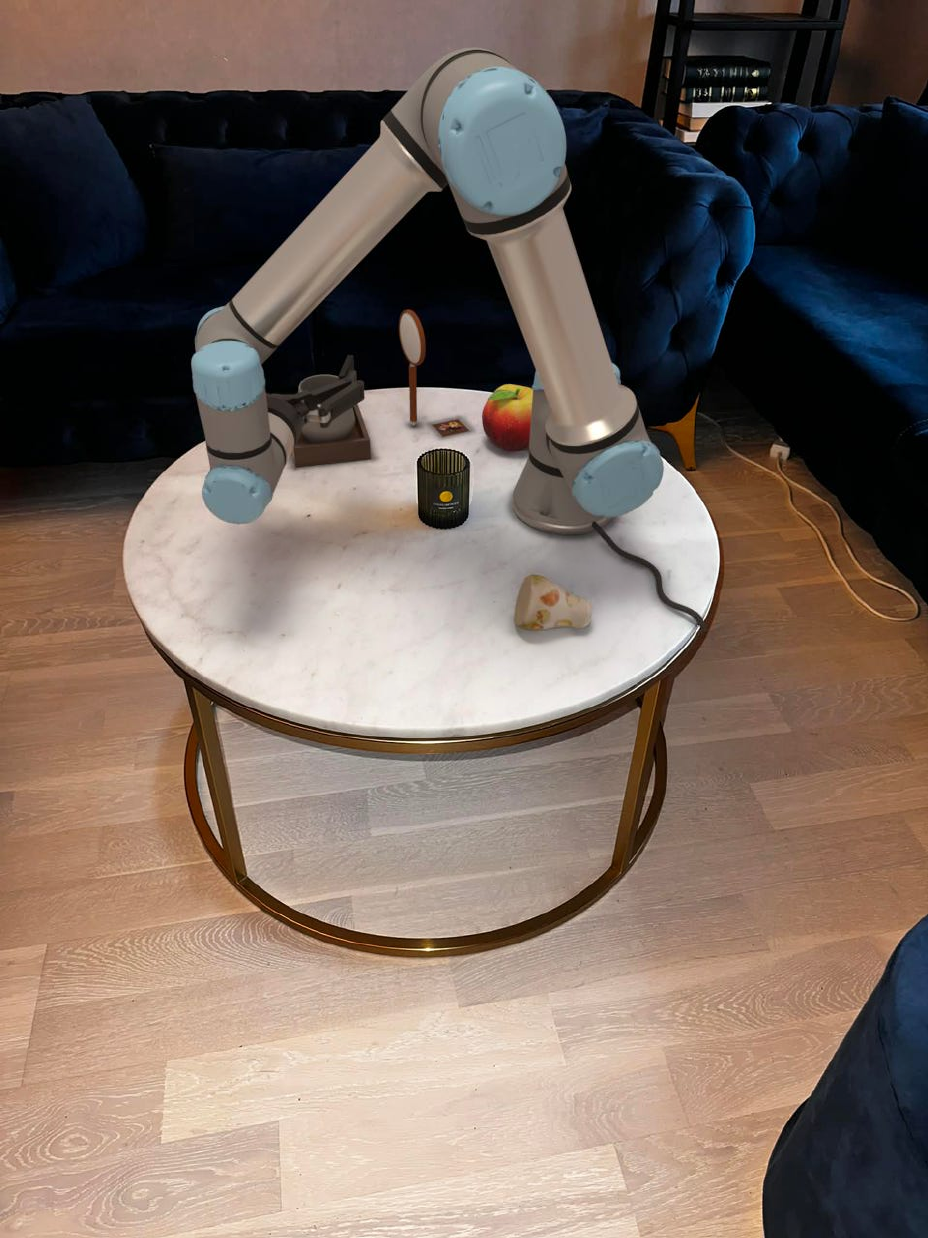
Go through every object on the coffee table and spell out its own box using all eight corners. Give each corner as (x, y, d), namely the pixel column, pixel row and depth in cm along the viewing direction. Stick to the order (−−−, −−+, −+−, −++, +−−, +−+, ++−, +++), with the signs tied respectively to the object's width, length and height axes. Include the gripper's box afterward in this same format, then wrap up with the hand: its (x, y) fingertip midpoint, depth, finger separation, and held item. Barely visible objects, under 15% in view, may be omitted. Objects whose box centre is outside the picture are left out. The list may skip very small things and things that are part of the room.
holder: (371, 458, 152) (370, 439, 149) (295, 467, 149) (293, 448, 147) (358, 422, 161) (357, 403, 158) (286, 429, 158) (284, 411, 156)
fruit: (558, 449, 155) (563, 393, 148) (501, 465, 151) (504, 409, 144) (523, 420, 162) (527, 366, 155) (468, 435, 158) (470, 380, 151)
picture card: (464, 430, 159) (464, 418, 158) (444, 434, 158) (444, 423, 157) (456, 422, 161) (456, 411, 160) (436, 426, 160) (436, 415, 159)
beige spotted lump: (599, 643, 119) (570, 599, 112) (529, 657, 123) (497, 616, 116) (599, 595, 124) (571, 550, 116) (531, 611, 128) (500, 568, 120)
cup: (347, 423, 159) (343, 368, 153) (363, 449, 153) (360, 393, 146) (292, 432, 156) (286, 377, 150) (307, 460, 150) (301, 403, 143)
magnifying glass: (398, 415, 163) (395, 302, 150) (407, 413, 163) (405, 300, 150) (419, 438, 157) (418, 322, 144) (429, 436, 157) (428, 320, 144)
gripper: (176, 455, 122) (223, 380, 138) (365, 467, 121) (391, 390, 137) (164, 403, 117) (215, 331, 133) (361, 414, 116) (389, 341, 132)
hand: (304, 361), depth 135 cm, fingers open, 13 cm apart
